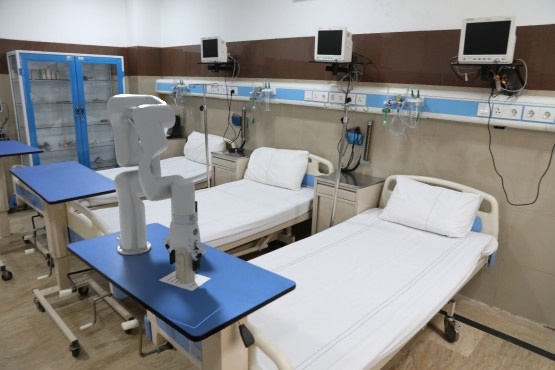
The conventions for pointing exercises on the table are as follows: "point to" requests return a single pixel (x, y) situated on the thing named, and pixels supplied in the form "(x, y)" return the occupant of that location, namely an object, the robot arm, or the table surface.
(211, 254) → the table surface
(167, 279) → the letter
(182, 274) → the skincare box
